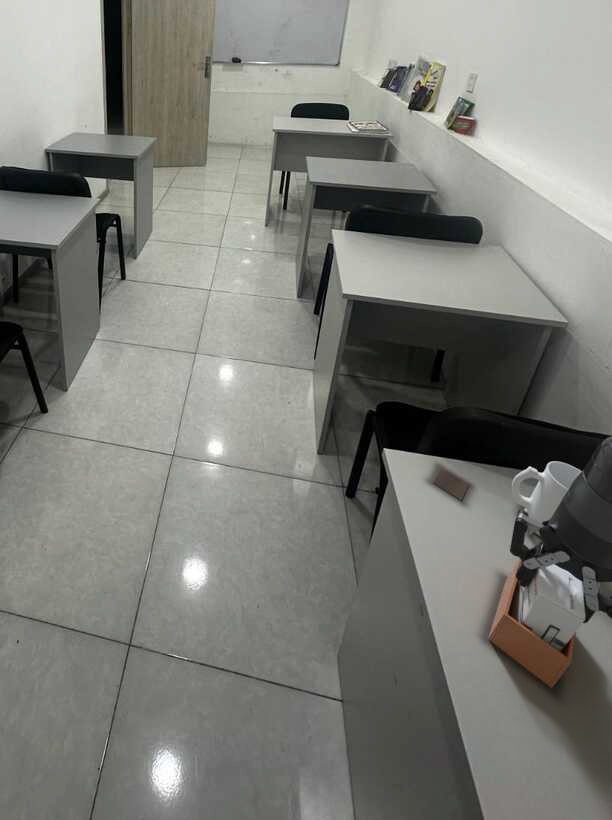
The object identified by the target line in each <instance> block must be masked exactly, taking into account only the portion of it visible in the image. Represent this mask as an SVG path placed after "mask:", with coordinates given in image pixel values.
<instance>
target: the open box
mask: <svg viewBox="0 0 612 820" xmlns="http://www.w3.org/2000/svg"><path fill="white" fill-rule="evenodd" d="M521 561H522V560H521V559H520V558H519V557H518V559H517V561H516V562H515V565H514V566H513V568H512V570H511V571H510V573H509V574H508V576H507V577H506V580H505V582H504V585H503V589H502V592H501V595H500V598H499V602H498V605H497V608H496V611H495V615H494V618H493V621H492V622H493V623H492V625H491V628H490V631H489V635H488V637H487V638H488V639H487V640H488V641H489V642H491V643H492V644H494V645H495V646H496V647H498V648H499V649H500V650H501V651H503V652H504V653H505V654H507V655H508V656H509V657H511V658H512V659H513V660H514V661H516V662H517V663H518V664H520V665H521V666H522V667H524V668H525V669H526V670H527V671H529V672H530V673H532V675H535V677H537V678H538V679H539V680H540V681H542V682H543V683H545V684H546V685H547V686H548V687H550V688H551V689H552V688H553V687H554V686H555V685H556V684H557V682H558V681H559V680H560V679H561V678H562V676H563V674H564V673H565V672H566V670H567V669H568V668H569V667H570V666H571V664H572V661H573V653H574V647H575V643H576V642H575V641H576V634H577V631H576V632H575V634H574V635H573V636H572V637H571V639H570V640H569V641H568V642H567V644H566V645H565V646H564V648H563V649H562V650H561V651H560V652H559V651H558V650H556V649H555V648H554V647H552V646H551V645H549V644H548V643H547V642H545V641H544V640H543V639H541V638H540V637H538V636H537V635H536V634H534V633H533V632H531V631H530V630H529V629H527V628H526V627H525V626H523V625H522V624H520V623H519V622H518V621H516V620H515V619H513V618H512V617H511V616H509V615H508V611H509V607H510V604H511V600H512V597H513V593H514V590H515V586H516V583H517V580H518V579H517V578H516V571H517V568H518V566H519V564H520V563H521Z"/></svg>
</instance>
